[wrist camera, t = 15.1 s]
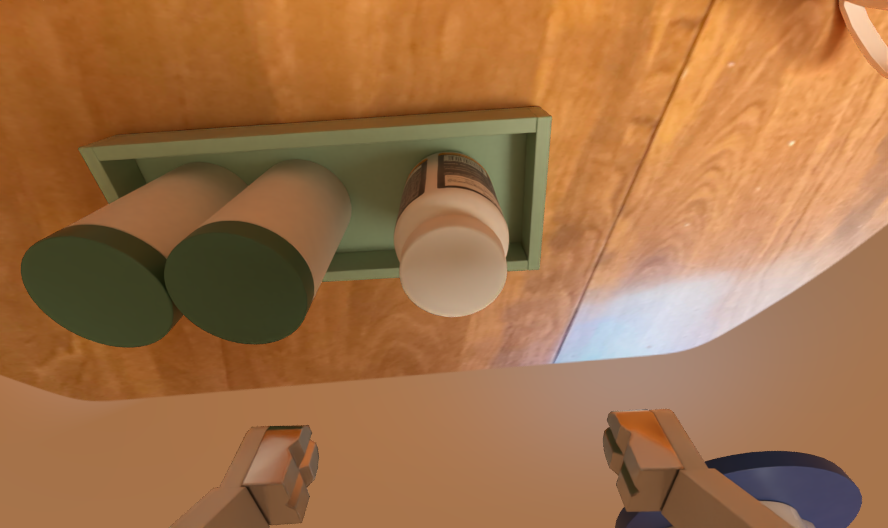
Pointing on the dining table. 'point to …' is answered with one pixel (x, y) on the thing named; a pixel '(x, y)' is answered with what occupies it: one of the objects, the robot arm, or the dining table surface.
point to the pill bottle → (451, 236)
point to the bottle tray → (359, 170)
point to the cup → (866, 31)
